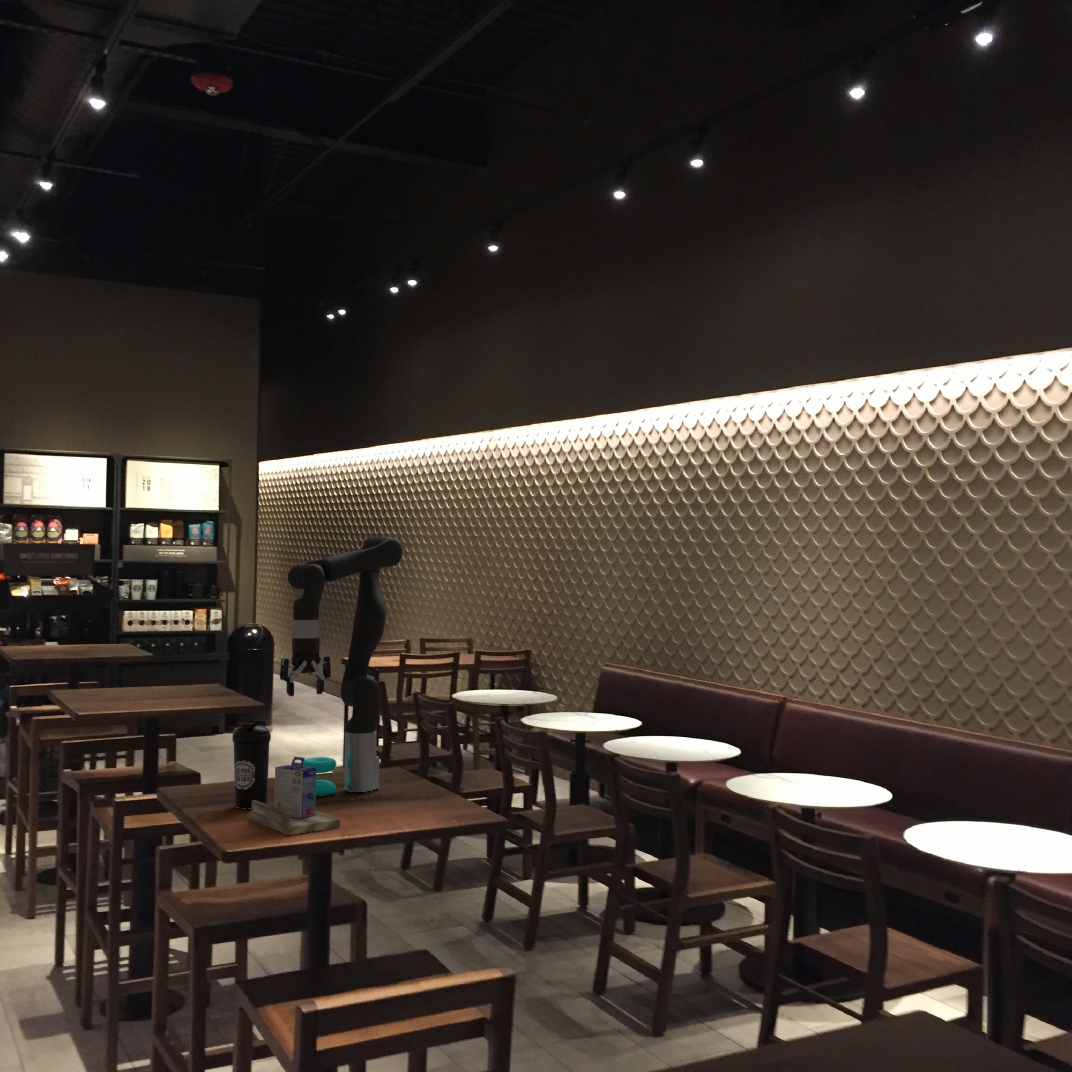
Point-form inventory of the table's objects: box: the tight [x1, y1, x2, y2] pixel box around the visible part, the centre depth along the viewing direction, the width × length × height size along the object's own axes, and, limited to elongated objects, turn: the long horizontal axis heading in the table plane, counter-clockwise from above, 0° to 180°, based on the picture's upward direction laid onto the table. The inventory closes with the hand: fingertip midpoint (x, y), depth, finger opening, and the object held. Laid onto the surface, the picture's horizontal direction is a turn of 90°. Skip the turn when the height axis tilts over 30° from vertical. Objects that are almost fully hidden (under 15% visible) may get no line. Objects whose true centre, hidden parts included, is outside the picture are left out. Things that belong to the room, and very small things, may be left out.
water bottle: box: [231, 719, 272, 810], centre depth 293 cm, size 10×10×23 cm
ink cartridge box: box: [273, 756, 317, 818], centre depth 273 cm, size 10×6×14 cm, turn 60°
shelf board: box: [249, 800, 341, 836], centre depth 273 cm, size 14×22×5 cm, turn 39°
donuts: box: [303, 756, 337, 796], centre depth 309 cm, size 10×10×10 cm
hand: (305, 695), depth 295 cm, fingers open, 8 cm apart
